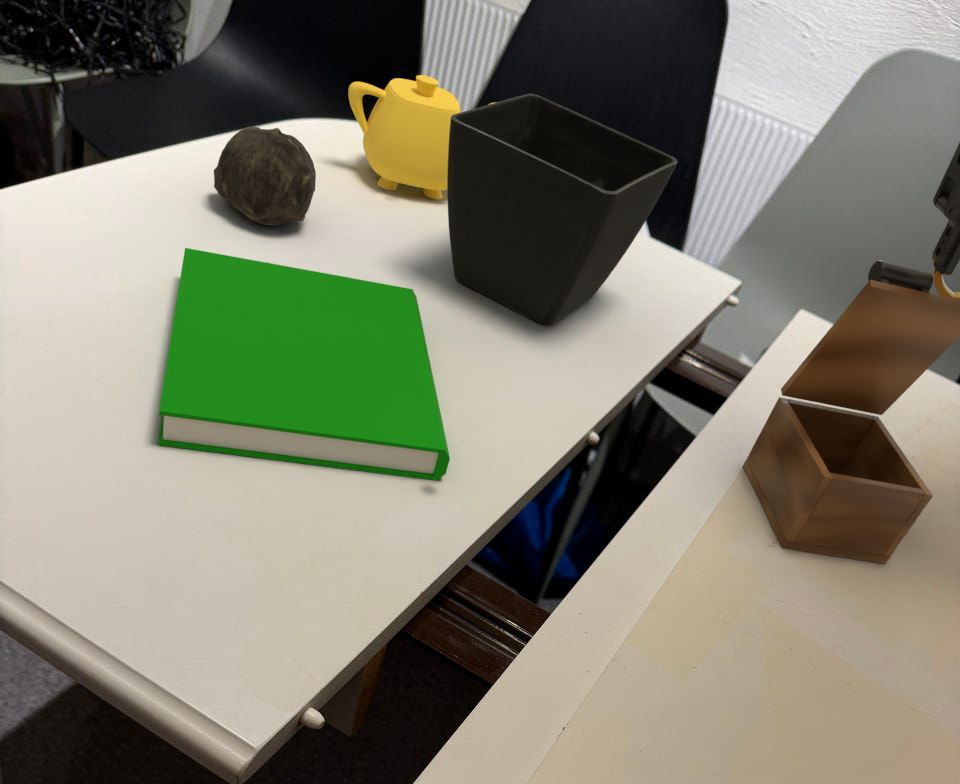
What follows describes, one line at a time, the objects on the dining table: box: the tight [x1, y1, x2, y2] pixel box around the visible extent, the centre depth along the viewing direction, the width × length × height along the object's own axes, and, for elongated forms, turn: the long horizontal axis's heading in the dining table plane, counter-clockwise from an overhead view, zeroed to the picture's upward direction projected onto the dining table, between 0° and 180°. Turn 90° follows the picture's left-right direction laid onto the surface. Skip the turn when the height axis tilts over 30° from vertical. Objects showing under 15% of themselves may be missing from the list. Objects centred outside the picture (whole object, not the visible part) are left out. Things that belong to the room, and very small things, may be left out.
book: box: [157, 247, 451, 481], centre depth 86 cm, size 22×28×3 cm
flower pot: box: [446, 93, 678, 326], centre depth 106 cm, size 19×19×17 cm
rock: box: [213, 125, 317, 227], centre depth 105 cm, size 10×11×10 cm
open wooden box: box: [742, 396, 934, 565], centre depth 89 cm, size 13×11×8 cm
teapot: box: [347, 74, 498, 201], centre depth 123 cm, size 13×20×12 cm
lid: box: [780, 260, 960, 416], centre depth 86 cm, size 14×11×6 cm
